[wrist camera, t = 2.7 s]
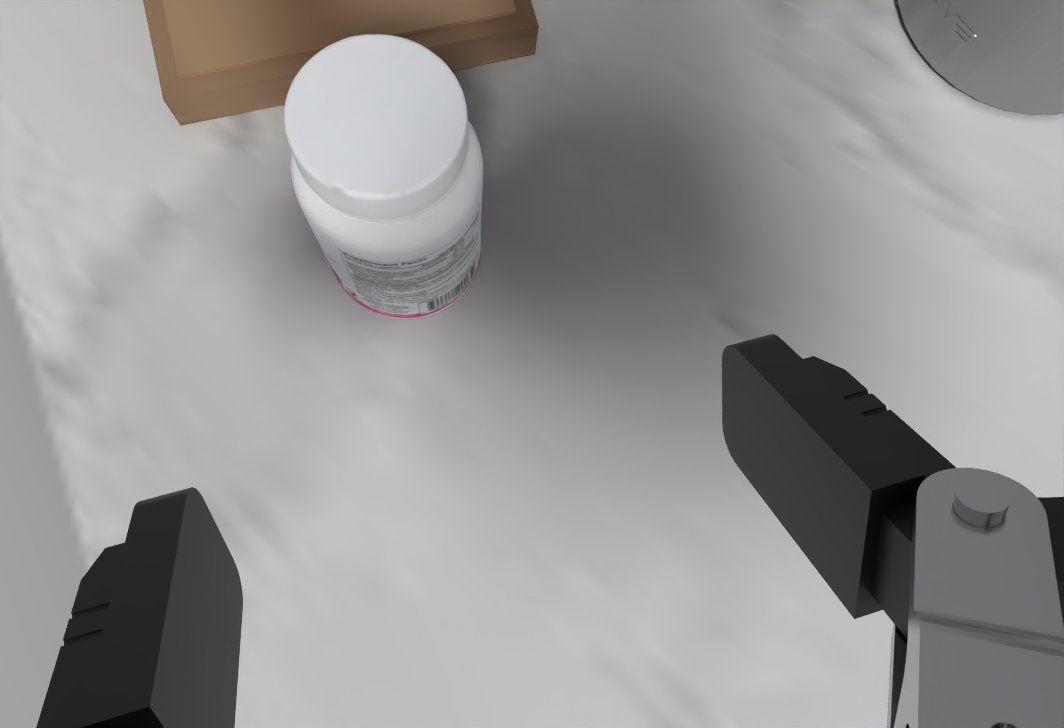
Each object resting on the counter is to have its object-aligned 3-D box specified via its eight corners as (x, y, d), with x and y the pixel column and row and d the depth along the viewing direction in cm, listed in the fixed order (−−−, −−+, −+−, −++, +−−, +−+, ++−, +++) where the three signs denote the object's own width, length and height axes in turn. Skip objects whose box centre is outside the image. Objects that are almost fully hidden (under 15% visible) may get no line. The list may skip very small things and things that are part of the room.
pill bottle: (330, 184, 26) (266, 13, 17) (477, 182, 26) (482, 14, 18) (330, 326, 24) (262, 214, 16) (483, 321, 25) (492, 211, 17)
